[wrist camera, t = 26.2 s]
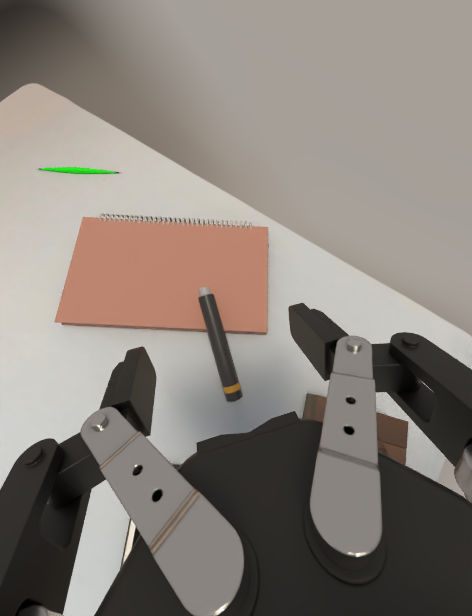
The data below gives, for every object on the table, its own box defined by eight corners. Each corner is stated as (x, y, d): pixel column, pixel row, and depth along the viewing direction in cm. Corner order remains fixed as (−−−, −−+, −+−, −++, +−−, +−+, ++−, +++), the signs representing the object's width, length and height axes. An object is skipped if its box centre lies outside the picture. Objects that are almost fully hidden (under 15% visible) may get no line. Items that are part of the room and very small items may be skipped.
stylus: (200, 287, 28) (233, 402, 28) (214, 284, 29) (246, 395, 29) (192, 291, 30) (223, 400, 29) (206, 288, 31) (236, 393, 30)
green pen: (38, 168, 40) (34, 164, 39) (122, 172, 40) (120, 168, 39) (36, 172, 39) (32, 168, 39) (121, 176, 40) (119, 172, 39)
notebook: (266, 227, 37) (268, 219, 35) (265, 334, 32) (267, 331, 30) (91, 218, 37) (83, 209, 35) (63, 324, 32) (53, 321, 30)
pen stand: (307, 393, 30) (318, 395, 26) (385, 416, 30) (408, 421, 26) (290, 482, 27) (300, 498, 24) (377, 509, 27) (401, 530, 23)
